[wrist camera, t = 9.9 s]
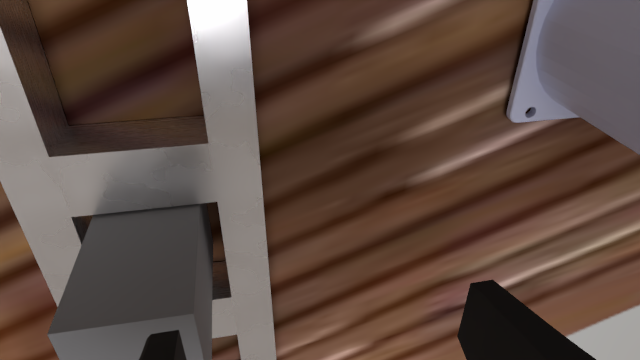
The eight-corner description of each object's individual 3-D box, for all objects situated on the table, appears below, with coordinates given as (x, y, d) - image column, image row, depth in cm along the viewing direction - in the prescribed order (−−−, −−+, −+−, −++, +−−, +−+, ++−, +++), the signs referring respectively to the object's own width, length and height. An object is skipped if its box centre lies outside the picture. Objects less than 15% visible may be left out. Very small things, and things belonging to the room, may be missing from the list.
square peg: (201, 172, 20) (193, 313, 13) (213, 242, 22) (211, 393, 15) (105, 182, 19) (47, 334, 13) (127, 252, 21) (86, 414, 15)
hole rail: (238, -73, 15) (241, -66, 13) (275, 367, 28) (280, 405, 26) (-61, -69, 14) (-110, -62, 12) (123, 392, 27) (116, 435, 25)
